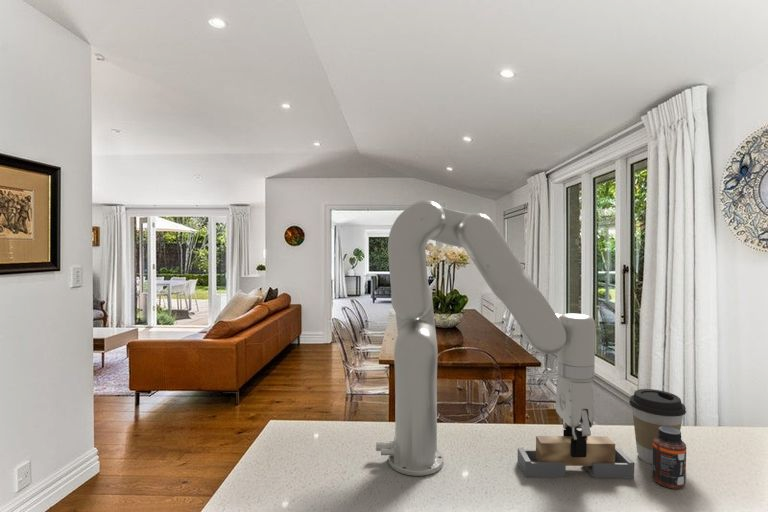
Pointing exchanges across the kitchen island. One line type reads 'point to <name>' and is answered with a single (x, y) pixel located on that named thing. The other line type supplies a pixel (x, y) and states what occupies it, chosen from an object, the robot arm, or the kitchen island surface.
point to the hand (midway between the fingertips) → (574, 451)
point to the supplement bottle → (669, 458)
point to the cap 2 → (614, 467)
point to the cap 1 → (539, 465)
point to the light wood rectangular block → (561, 450)
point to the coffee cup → (654, 417)
